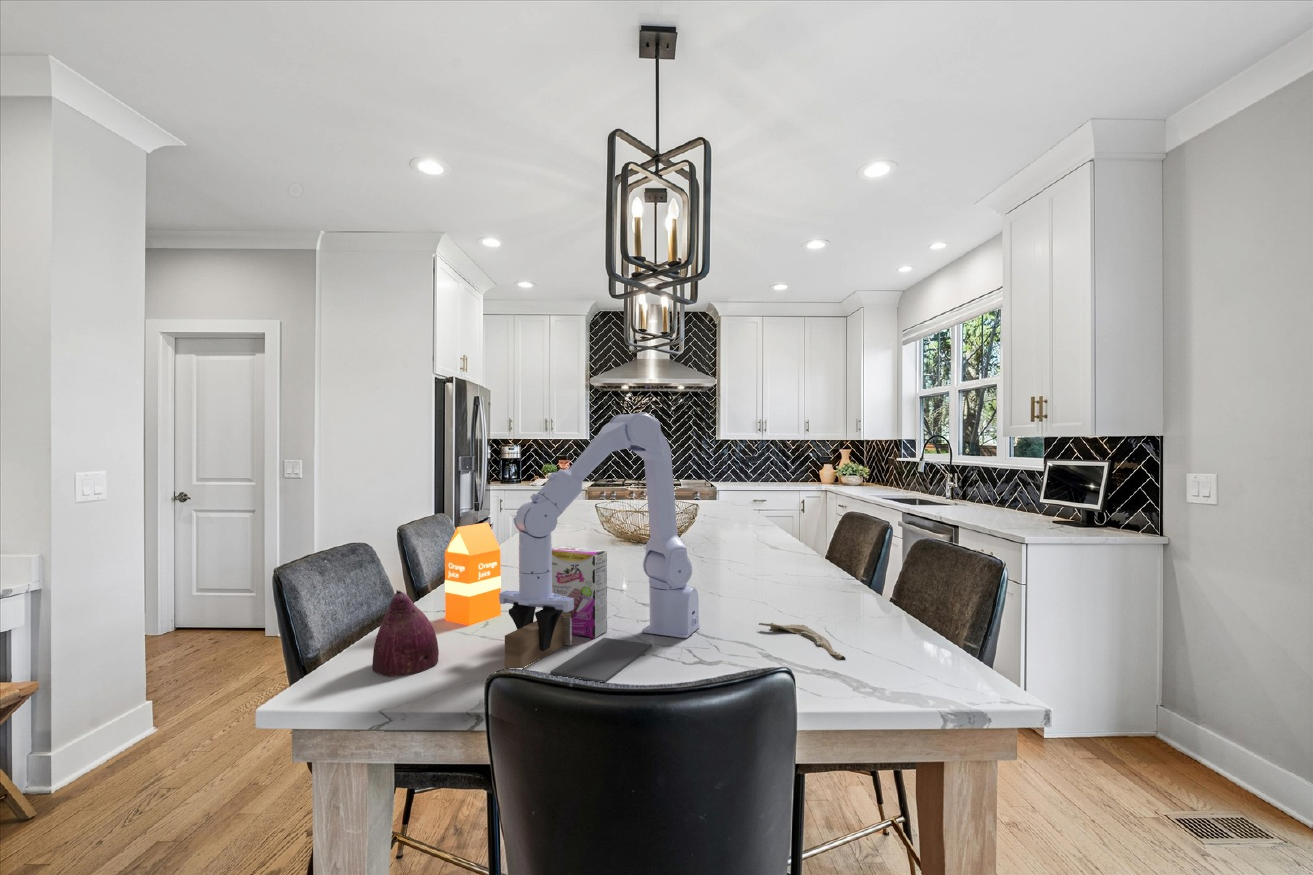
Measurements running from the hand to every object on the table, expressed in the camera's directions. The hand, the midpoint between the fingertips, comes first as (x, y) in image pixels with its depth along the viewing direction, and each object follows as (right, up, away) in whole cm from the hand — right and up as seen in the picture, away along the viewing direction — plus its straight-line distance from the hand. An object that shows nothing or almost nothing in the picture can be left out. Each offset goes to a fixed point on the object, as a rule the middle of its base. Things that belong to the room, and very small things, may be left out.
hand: (536, 647), depth 106 cm
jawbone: (+48, -2, +6) cm, 48 cm away
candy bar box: (+6, -2, +13) cm, 14 cm away
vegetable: (-21, -2, -4) cm, 22 cm away
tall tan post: (0, -2, 0) cm, 2 cm away
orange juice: (-18, -2, +23) cm, 30 cm away
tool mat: (+12, -1, -2) cm, 12 cm away
